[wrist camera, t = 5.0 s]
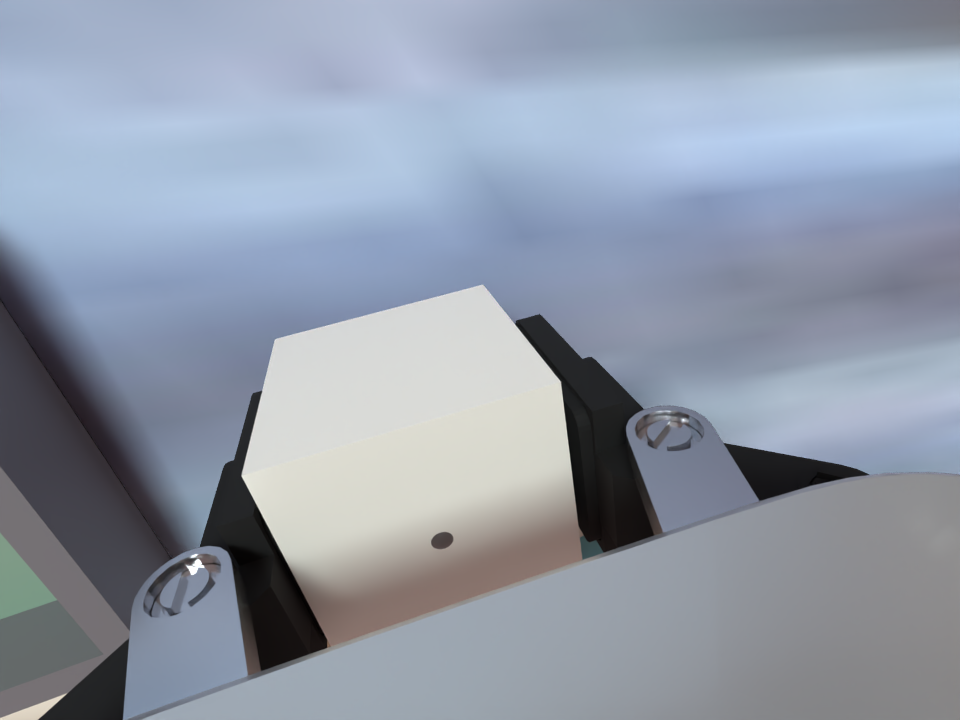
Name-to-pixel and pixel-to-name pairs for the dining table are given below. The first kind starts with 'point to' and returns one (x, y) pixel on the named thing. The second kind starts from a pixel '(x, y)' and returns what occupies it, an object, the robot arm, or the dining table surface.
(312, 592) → the die
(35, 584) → the tray
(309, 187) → the dining table surface
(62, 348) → the dining table surface
